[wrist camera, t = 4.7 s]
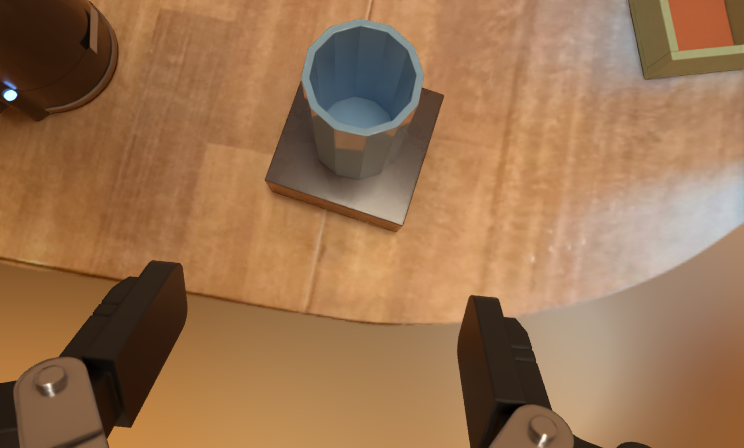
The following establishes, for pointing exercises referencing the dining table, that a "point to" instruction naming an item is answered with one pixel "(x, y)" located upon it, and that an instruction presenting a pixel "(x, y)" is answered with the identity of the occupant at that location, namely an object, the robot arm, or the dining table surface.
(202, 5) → the dining table surface
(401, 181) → the brown square block
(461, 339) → the robot arm
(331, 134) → the cup
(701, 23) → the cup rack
